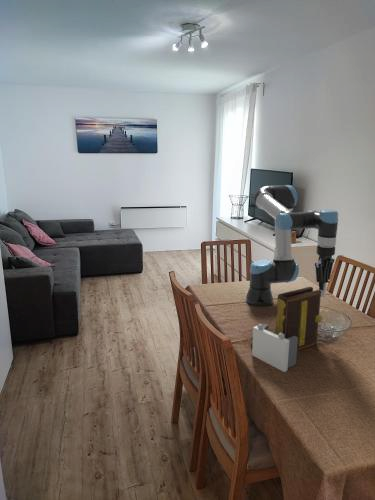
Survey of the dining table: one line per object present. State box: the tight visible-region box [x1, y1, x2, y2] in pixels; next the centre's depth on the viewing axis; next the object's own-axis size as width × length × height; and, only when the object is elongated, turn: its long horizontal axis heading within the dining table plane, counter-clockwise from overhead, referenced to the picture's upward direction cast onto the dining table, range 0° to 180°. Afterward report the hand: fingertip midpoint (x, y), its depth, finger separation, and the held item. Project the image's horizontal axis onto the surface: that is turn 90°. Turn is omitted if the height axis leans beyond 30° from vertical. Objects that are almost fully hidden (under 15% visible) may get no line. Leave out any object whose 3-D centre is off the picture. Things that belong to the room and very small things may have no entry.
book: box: [275, 286, 323, 352], centre depth 157 cm, size 22×8×25 cm, turn 117°
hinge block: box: [250, 334, 253, 346], centre depth 162 cm, size 4×4×4 cm
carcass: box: [251, 323, 298, 373], centre depth 148 cm, size 8×16×15 cm, turn 40°
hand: (322, 295), depth 166 cm, fingers closed
